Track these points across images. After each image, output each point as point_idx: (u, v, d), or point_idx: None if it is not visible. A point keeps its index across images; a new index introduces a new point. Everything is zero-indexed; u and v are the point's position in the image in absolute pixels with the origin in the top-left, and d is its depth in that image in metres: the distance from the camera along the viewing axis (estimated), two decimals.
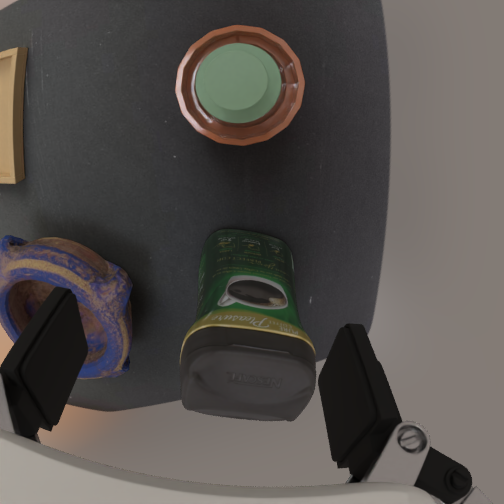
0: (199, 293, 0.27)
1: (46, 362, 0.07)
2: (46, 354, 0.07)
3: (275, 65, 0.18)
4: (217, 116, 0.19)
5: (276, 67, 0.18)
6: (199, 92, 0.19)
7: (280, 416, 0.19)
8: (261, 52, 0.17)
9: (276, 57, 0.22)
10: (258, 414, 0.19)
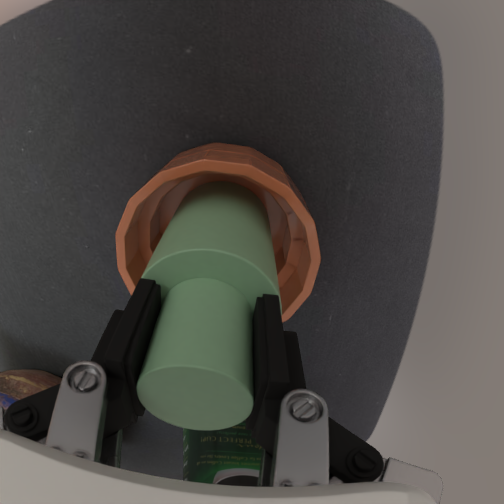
0: (184, 466, 0.20)
1: (142, 352, 0.09)
2: (143, 344, 0.09)
3: (272, 288, 0.11)
4: None
5: (274, 291, 0.11)
6: None
7: None
8: (246, 266, 0.11)
9: (276, 198, 0.16)
10: None
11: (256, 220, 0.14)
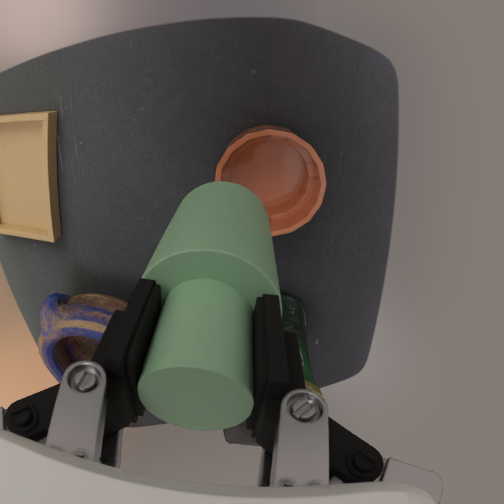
0: None
1: (142, 352, 0.09)
2: (143, 344, 0.09)
3: (272, 288, 0.11)
4: None
5: (274, 291, 0.11)
6: None
7: None
8: (246, 266, 0.11)
9: (302, 154, 0.28)
10: None
11: (256, 220, 0.14)
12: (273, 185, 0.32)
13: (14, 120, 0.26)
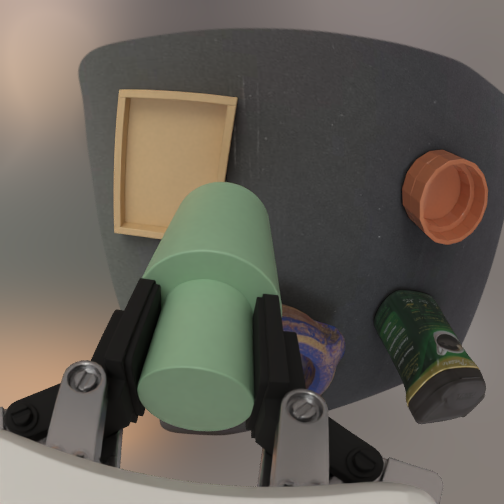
0: (402, 343, 0.34)
1: (142, 352, 0.09)
2: (143, 344, 0.09)
3: (272, 289, 0.11)
4: None
5: (274, 292, 0.11)
6: None
7: (464, 414, 0.26)
8: (246, 267, 0.11)
9: (468, 178, 0.29)
10: (457, 415, 0.26)
11: (256, 221, 0.14)
12: (438, 200, 0.33)
13: (179, 98, 0.26)
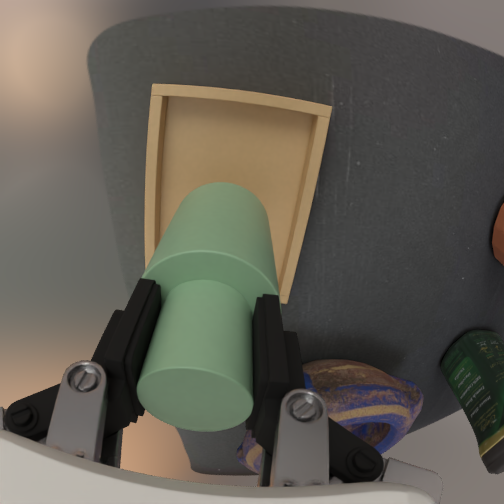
0: (478, 392, 0.25)
1: (142, 352, 0.09)
2: (143, 344, 0.09)
3: (272, 289, 0.11)
4: None
5: (273, 292, 0.11)
6: None
7: None
8: (246, 267, 0.11)
9: None
10: None
11: (256, 221, 0.14)
12: None
13: (248, 100, 0.18)
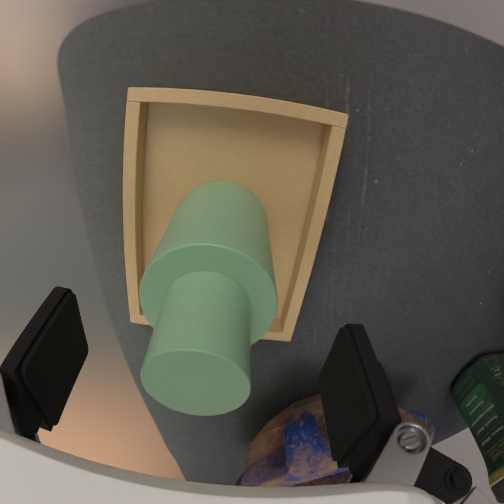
0: (490, 421, 0.22)
1: (46, 362, 0.07)
2: (46, 354, 0.07)
3: (268, 280, 0.12)
4: None
5: (270, 284, 0.12)
6: (148, 316, 0.13)
7: None
8: (244, 260, 0.11)
9: None
10: None
11: (254, 218, 0.15)
12: None
13: (245, 107, 0.15)
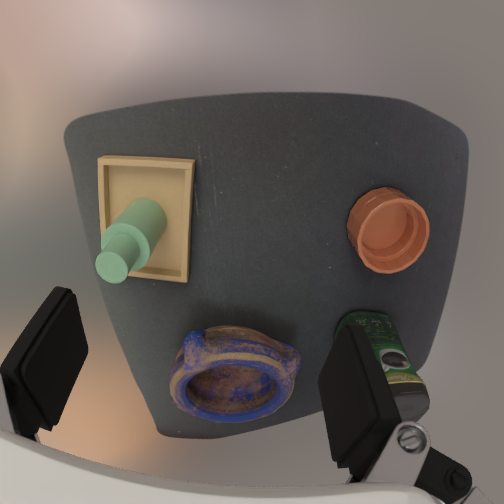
0: None
1: (46, 362, 0.07)
2: (46, 354, 0.07)
3: (144, 236, 0.30)
4: None
5: (144, 238, 0.30)
6: None
7: None
8: (134, 228, 0.30)
9: (411, 212, 0.36)
10: None
11: (149, 214, 0.34)
12: (384, 232, 0.39)
13: (146, 165, 0.33)
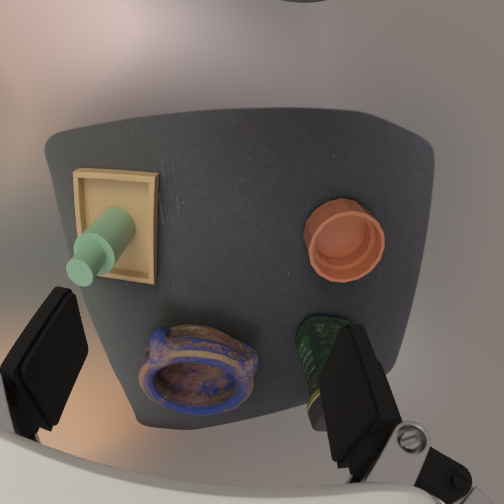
0: (309, 362, 0.43)
1: (46, 362, 0.07)
2: (46, 354, 0.07)
3: (109, 245, 0.33)
4: None
5: (109, 246, 0.33)
6: None
7: None
8: (100, 238, 0.33)
9: (367, 223, 0.38)
10: None
11: (116, 223, 0.36)
12: (342, 242, 0.42)
13: (114, 178, 0.36)
